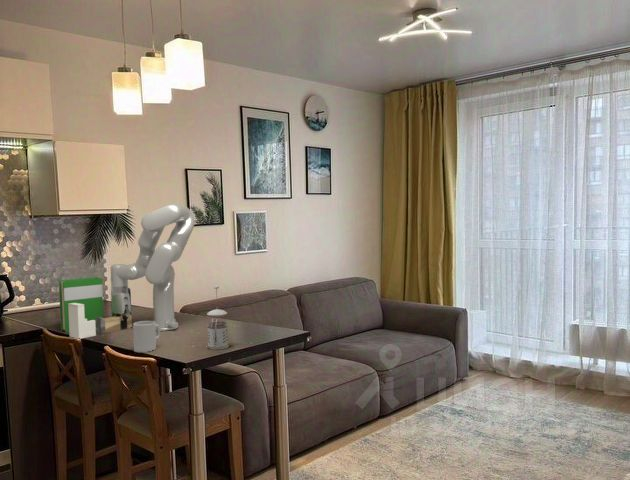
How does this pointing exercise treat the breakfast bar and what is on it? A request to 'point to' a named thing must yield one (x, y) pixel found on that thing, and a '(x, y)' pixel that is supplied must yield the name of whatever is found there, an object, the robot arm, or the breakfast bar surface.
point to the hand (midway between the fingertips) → (121, 327)
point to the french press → (217, 328)
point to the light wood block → (111, 323)
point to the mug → (145, 336)
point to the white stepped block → (80, 322)
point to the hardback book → (81, 298)
